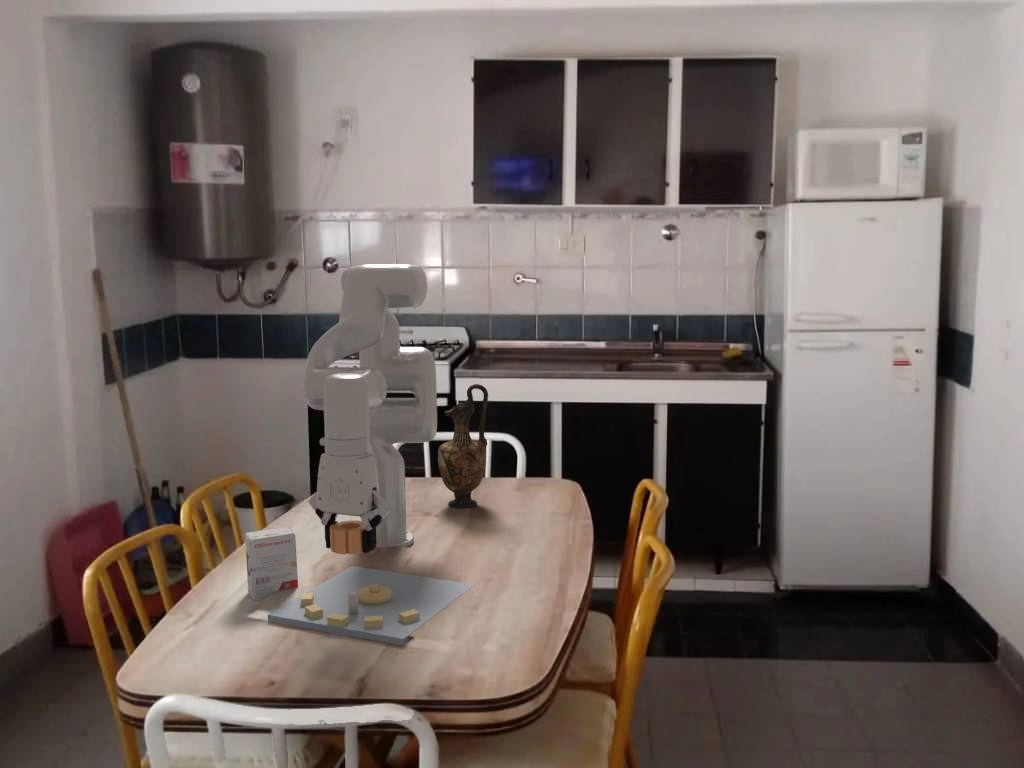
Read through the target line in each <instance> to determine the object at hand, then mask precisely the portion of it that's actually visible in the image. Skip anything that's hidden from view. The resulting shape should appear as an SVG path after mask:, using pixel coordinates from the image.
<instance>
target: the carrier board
mask: <svg viewBox="0 0 1024 768" xmlns="http://www.w3.org/2000/svg"><path fill="white" fill-rule="evenodd" d="M473 587H475V583H474V584H473V583H466V582H460V581H456V580H454V581H452V580H447V579H439V578H433V577H428V576H427V577H425V576H420V575H415V574H414V575H413V574H406V573H401V572H394V571H389V570H388V571H387V570H379V569H374V568H373V569H372V568H368V567H366V568H365V567H359V566H353V565H351V566H349V567H348V568H346V569H344V570H343V571H340V572H339V573H337V574H336V575H333V576H332V577H331V578H329V579H327V580H325V581H324V582H322V583H320V584H318V585H317V586H314V587H313V588H312V589H309V590H308V591H307V592H301V593H302V594H301V595H299V596H297V597H296V598H294V599H292V600H291V601H289V602H287V603H286V604H284V605H282V606H280V607H279V608H276V609H275V610H273V611H272V612H270V613H268V614H267V622H270V623H271V622H272V623H276V624H281V625H288V626H290V627H292V626H293V627H298V628H302V629H303V628H304V629H308V630H309V629H310V630H315V631H320V632H324V633H330V634H335V635H341V636H347V637H352V638H358V639H363V640H368V641H369V640H370V641H375V642H381V643H385V644H392V645H396V646H401V647H402V646H403V647H404V646H405V645H406V644H408V643H409V642H410V641H412V640H413V639H414V638H415V636H412V635H411V634H412V633H413V632H415V631H416V630H417V629H418V628H420V627H421V626H423V625H424V624H425V623H426V622H428V621H429V620H430V619H432V618H433V617H434V616H436V615H437V614H438V613H440V612H441V611H442V610H444V609H445V608H446V607H448V606H449V605H450V604H451V603H453V602H454V601H456V600H457V599H458V598H460V597H461V596H462V595H464V593H466V592H467V591H469V590H470V589H472V588H473Z"/></svg>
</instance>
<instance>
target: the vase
mask: <svg viewBox="0 0 1024 768" xmlns="http://www.w3.org/2000/svg"><path fill="white" fill-rule="evenodd" d="M474 389H475V390H480V391H481V392H482V393H483V400H482V403H481V405H482V406H481V410H480V418H479V426H478V427H479V428H478V440H477V441H476V440H474V439H473V438H471V434H470V420H471V417H472V415H473V414H474V413H475V409H476V408H475V407H476V406H475V402H474V396H473V390H474ZM466 396H467V399H466V400H465V401H464V402H459V403H458V404H455V405H454V406H452V407H451V409H449V410H447V409H446V410H445V411H444V414H445V416H446V417H450V418H451V419H452V421H453V424H454V428H453V429H454V431H453V436H452V439H451V440H450V441H447V442H444V443H442V444H441V445H440V446H438V447H439V448H438V450H437V463H438V468H439V473H440V477H441V480H442V482H443V484H444V485H445V488H447V489H448V490H449V491H451V492H452V493H453V495H454V499H452V500H450V501H448V503H447V505H448V507H449V508H453V509H468V508H473V507H475V506H477V505H478V501H476V500H475V499H472V492H473V491H474V490H476V489H477V488H478V487H479V486H480V484H481V483H482V480H483V477H484V475H485V470H486V463H487V451H486V447H487V446H488V441H487V439H486V436H485V423H486V416H487V415H486V414H487V408H488V401H489V393H488V390H487V388H486V387H485V386H484V385H482V384H479V383H475V384H472V385H470V386H469V387H468V389H467V391H466Z"/></svg>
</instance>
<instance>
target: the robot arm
mask: <svg viewBox="0 0 1024 768" xmlns="http://www.w3.org/2000/svg"><path fill="white" fill-rule="evenodd" d="M427 279H428V278H427V276H426V273H425V271H424V269H423V268H422V266H420V265H417V264H415V265H414V264H406V263H403V264H402V263H401V264H400V263H398V264H397V263H395V264H394V263H392V264H390V263H388V264H386V263H385V264H384V263H383V264H382V263H381V264H379V263H378V264H377V263H376V264H374V263H373V264H361V265H356V266H355V265H354V266H351V267H348V268H346V269H345V270H344V271H343V272H342V273H341V278H340V284H341V289H342V299H341V303H340V304H341V306H340V312H339V318H338V323H336V324H335V325H333V326H331V328H329V329H328V330H326V332H324V334H323V335H321V337H320V338H319V339H318V340H317V341H316V342H315V343H314V344H313V346H312V347H311V350H310V351H309V353H308V356H307V361H306V367H305V372H304V377H303V396H304V400H305V403H306V404H307V405H308V407H310V408H311V409H313V410H318V411H323V418H324V419H323V421H324V424H323V425H324V437H321V438H320V439H319V445H320V446H324V453H322V454H321V455H320V459H319V464H318V470H317V471H318V472H317V483H316V493H314V494H313V495H312V496H311V497H310V498H309V499H308V504H309V505H310V507H311V508H312V509H313V510H314V512H315V514H316V516H317V517H318V519H320V522H321V525H322V526H324V540H325V548H326V549H330V525H333V524H335V523H337V522H338V523H339V521H337V517H338V515H343V516H352V517H359V518H360V520H359V519H356V518H355V519H354V518H353V519H352V518H350V519H349V521H351V520H352V521H355V520H356V521H362V522H363V525H364V527H365V530H363V531H362V547H363V552H362V553H363V554H369V553H370V552H372V551H374V550H376V547H379V548H380V547H381V548H384V547H394V546H395V547H402V548H407V547H409V546H410V545H412V544H413V543H414V540H415V537H414V534H413V533H411V532H410V531H408V530H407V510H406V509H407V506H406V505H407V503H406V502H407V500H406V496H407V495H406V477H405V476H406V474H405V473H406V469H405V468H406V466H405V460H404V458H403V456H402V454H401V453H400V451H399V450H397V448H396V447H395V445H393V444H416V443H417V444H422V443H423V444H424V443H429V442H431V441H433V440H434V439H435V437H436V435H437V430H438V399H437V398H438V396H437V370H436V369H437V368H436V362H435V357H434V355H433V353H432V351H430V349H428V348H427V347H426V348H425V347H422V346H401V343H400V342H401V341H400V324H399V320H398V318H397V317H396V315H395V314H394V313H393V311H392V310H391V309H415V308H418V307H421V306H422V304H424V302H425V300H426V297H427V294H428V293H427V292H428V280H427ZM358 352H359V353H358ZM356 353H358V354H359V355H358V356H359V367H350V366H348V367H347V366H345V367H344V366H342V367H340V366H339V367H335V366H334V367H333V366H331V365H333V364H334V363H335V362H337V361H340V359H343V358H345V357H348V356H351V355H353V354H356ZM388 393H412V394H413V395H414V397H411V398H410V397H387V394H388Z"/></svg>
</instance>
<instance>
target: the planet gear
mask: <svg viewBox="0 0 1024 768" xmlns="http://www.w3.org/2000/svg"><path fill="white" fill-rule="evenodd" d="M356 520H357V519H355V521H352V520H351V521H350V520H345V521H338V522H337V523H335V524H333V525H330V548H329V549H330V550H331V552H332V553H334V554H339V555H345V556H346V555H355V554H356V555H358V554H362V553H364V552H363V547H362V531H363V530H365V527H364V525H363V522H362V520H359V521H356Z"/></svg>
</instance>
